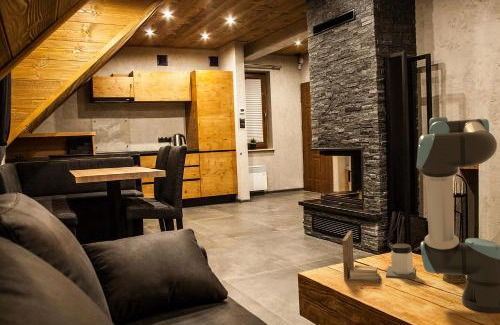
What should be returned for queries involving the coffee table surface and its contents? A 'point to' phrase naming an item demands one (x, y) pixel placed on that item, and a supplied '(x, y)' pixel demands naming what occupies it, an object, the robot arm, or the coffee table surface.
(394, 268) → the jar
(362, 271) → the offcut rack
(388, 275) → the rubber mat
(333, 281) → the coffee table surface
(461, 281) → the wooden mug
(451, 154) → the robot arm
